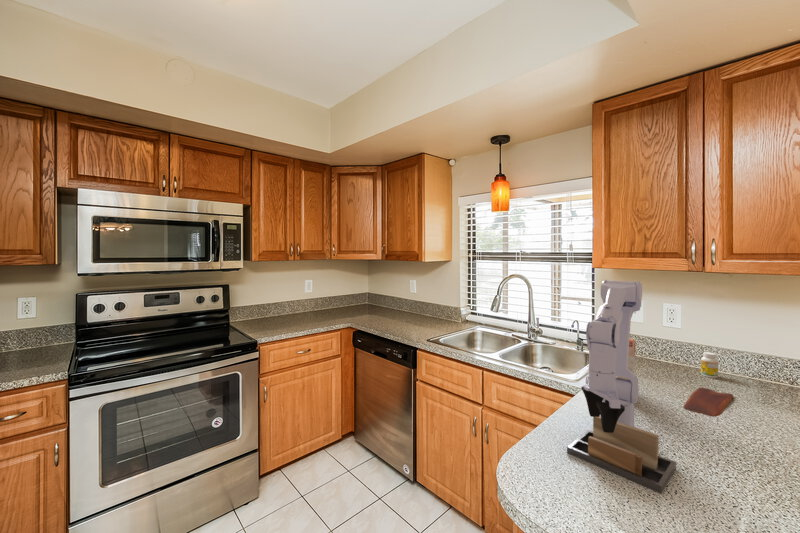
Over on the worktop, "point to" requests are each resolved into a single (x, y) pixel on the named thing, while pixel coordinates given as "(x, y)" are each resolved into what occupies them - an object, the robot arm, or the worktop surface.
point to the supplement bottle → (709, 365)
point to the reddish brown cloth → (708, 402)
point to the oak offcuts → (615, 455)
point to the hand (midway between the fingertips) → (601, 423)
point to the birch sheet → (630, 441)
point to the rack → (649, 475)
